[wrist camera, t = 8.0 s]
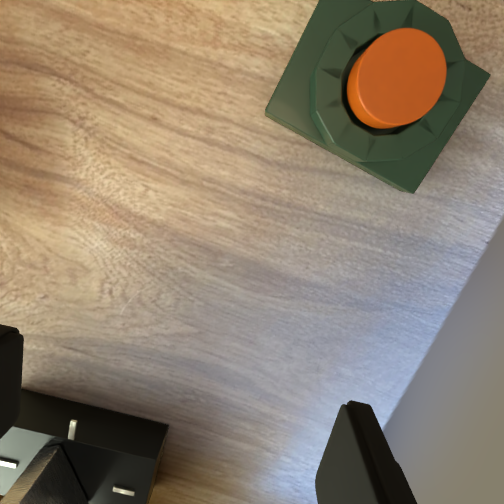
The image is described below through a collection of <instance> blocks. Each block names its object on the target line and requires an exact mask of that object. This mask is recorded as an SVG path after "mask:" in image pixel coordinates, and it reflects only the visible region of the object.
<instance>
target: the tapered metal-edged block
mask: <svg viewBox="0 0 504 504" xmlns="http://www.w3.org/2000/svg"><path fill="white" fill-rule="evenodd" d="M0 504H89V502H88V500H87V498H86V496H85V494H84V492H83V490H82V488H81V486H80V484H79V482H78V480H77V478H76V476H75V474H74V472H73V470H72V467H71V465H70V463H69V461H68V459H67V457H66V455H65V453H64V451H63V449H62V447H61V445H57V446H52V447H46V448H41V449H40V450H39V452H38V453H37V454H36V455H35V457H34V458H33V459H32V461H31V462H30V463H29V465H28V466H27V467H26V469H25V470H24V471H23V472H22V474H21V475H20V476H19V478H18V479H17V480H16V482H15V483H14V484H13V485H12V487H11V488H10V489H9V491H8V492H7V493H6V495H5V496H4V497H3V498H2V500H1V501H0Z"/></svg>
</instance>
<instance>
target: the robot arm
mask: <svg viewBox="0 0 504 504" xmlns="http://www.w3.org/2000/svg"><path fill="white" fill-rule="evenodd" d="M23 343H24V338H23V335H21V334H19V330H18V329H17V328H15V327H10V326H6V325H1V324H0V439H1V438H2V437H3V436H4V435H5V434H6V433H7V432H8V431H9V429H10V428H11V427H12V426H13V425H14V424H15V422H16V421H17V419H18V417H19V414H20V402H21V383H22V363H23ZM315 488H316V495H317V501H318V504H417V502H416V500H415V498H414V496H413V494H412V491H411V489H410V487H409V485H408V482H407V480H406V478H405V475H404V473H403V471H402V469H401V467H400V465H399V464H398V463H397V462H396V461H395V459H394V457H393V455H392V452H391V450H390V448H389V445H388V443H387V441H386V439H385V437H384V434H383V432H382V430H381V427H380V425H379V423H378V421H377V418H376V416H375V414H374V412H373V409H372V407H371V406H370V405H369V404H365V403H360V402H356V401H349V402H348V403H347V405H345V404H342V405H341V407H340V409H339V412H338V415H337V418H336V421H335V423H334V426H333V429H332V432H331V435H330V437H329V440H328V443H327V446H326V448H325V451H324V454H323V457H322V460H321V462H320V465H319V468H318V471H317V474H316V480H315Z"/></svg>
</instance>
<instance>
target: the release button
mask: <svg viewBox="0 0 504 504" xmlns="http://www.w3.org/2000/svg"><path fill="white" fill-rule="evenodd" d="M446 72H447V68H446V60H445V56H444V53H443V51H442V49H441V47H440V45H439V44H438V43H437V41H436V40H435V39H434V38H433V37H432V36H430V35H429V34H427V33H426V32H424V31H421V30H418V29H414V28H399V29H395V30H392V31H389V32H387V33H385V34H383V35H382V36H380V37H379V38H377V39H376V40H375V41H374V42H373V43H372V44H371V45H370V46H369V47H368V48H367V49H366V50H365V51H364V52H363V53H362V55H361V56H360V57H359V58H358V59H357V60H356V62H355V63H354V65H353V67H352V69H351V71H350V74H349V77H348V82H347V98H348V102H349V105H350V108H351V110H352V111H353V113H354V115H355V116H356V117H357V118H358V119H359V120H360V121H361V122H363V123H364V124H366V125H368V126H370V127H373V128H378V129H388V128H393V127H397V126H401V125H405V124H409V123H411V122H414V121H416V120H418V119H420V118H421V117H423V116H424V115H425V114H426V113H428V112H429V111H430V110H431V109H432V107H433V106H434V105H435V104H436V102H437V101H438V99H439V97H440V95H441V93H442V91H443V88H444V85H445V81H446Z"/></svg>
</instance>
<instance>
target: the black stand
mask: <svg viewBox="0 0 504 504" xmlns="http://www.w3.org/2000/svg"><path fill="white" fill-rule="evenodd" d="M168 427H169V425H167V424H163V423H158V422H154V421H150V420H146V419H142V418H138V417H134V416H130V415H126V414H122V413H118V412H114V411H109V410H105V409H101V408H97V407H93V406H89V405H85V404H81V403H77V402H73V401H69V400H64V399H60V398H56V397H52V396H48V395H44V394H40V393H36V392H32V391H28V390H24V389H21V402H20V414H19V417H18V419H17V421H16V422H15V424H14V425H13V426H12V427H11V428H10V429H9V431H8V432H7V433H6V434H5V435H4V436H3V437H2V438H1V439H0V495H4V496H5V495H6V493H7V492H8V491H9V489H10V488H11V487H12V485H13V484H14V483H15V482H16V480H17V479H18V478H19V476H20V475H21V474H22V472H23V471H24V470H25V469H26V467H27V466H28V465H29V463H30V462H31V461H32V459H33V458H34V457H35V455H36V454H37V453H38V452H39V450H40V449H41V448H46V447H52V446H57V445H61V447H62V449H63V451H64V453H65V455H66V457H67V459H68V461H69V463H70V465H71V467H72V470H73V472H74V474H75V476H76V478H77V480H78V482H79V484H80V486H81V488H82V490H83V492H84V494H85V496H86V498H87V500H88V502H89V504H148V503H149V500H150V497H151V494H152V491H153V488H154V484H155V480H156V476H157V472H158V468H159V464H160V460H161V456H162V452H163V448H164V443H165V439H166V435H167V431H168Z"/></svg>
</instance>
